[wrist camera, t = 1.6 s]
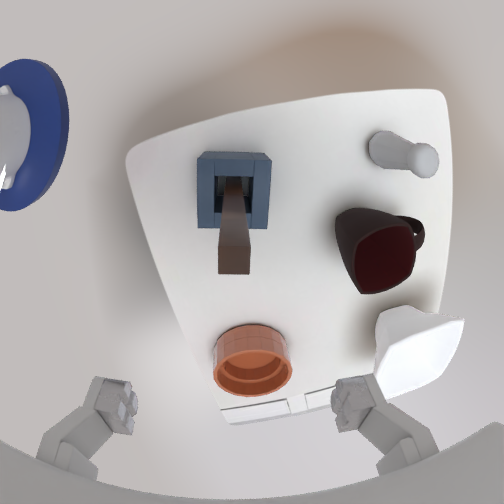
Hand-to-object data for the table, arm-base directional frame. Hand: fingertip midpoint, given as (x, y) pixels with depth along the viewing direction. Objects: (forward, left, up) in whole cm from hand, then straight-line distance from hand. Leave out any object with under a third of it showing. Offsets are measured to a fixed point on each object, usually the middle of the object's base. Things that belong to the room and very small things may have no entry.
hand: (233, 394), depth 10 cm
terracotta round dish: (+4, -32, -33) cm, 46 cm away
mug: (+21, -5, -33) cm, 40 cm away
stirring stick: (0, +1, -33) cm, 33 cm away
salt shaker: (+22, +8, -33) cm, 41 cm away
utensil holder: (0, +1, -33) cm, 33 cm away
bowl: (+34, -26, -33) cm, 54 cm away
